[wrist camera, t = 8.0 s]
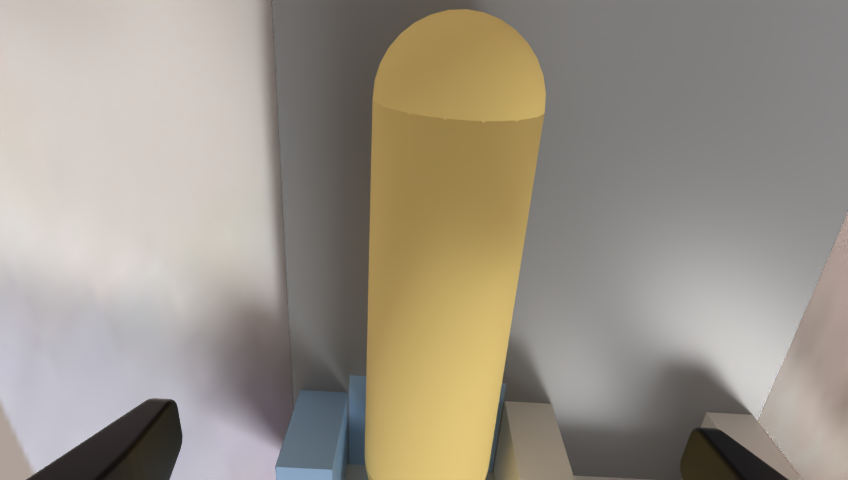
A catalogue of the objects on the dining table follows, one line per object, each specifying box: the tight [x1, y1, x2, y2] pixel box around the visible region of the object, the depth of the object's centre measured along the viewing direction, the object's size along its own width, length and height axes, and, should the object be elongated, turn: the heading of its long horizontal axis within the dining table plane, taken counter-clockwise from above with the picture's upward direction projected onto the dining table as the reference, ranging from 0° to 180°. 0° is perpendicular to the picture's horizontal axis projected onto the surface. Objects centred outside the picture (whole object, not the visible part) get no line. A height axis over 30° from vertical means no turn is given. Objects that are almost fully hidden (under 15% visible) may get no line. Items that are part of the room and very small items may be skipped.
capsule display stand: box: [272, 0, 848, 480], centre depth 14 cm, size 15×17×4 cm
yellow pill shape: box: [365, 9, 546, 480], centre depth 13 cm, size 14×4×4 cm, turn 176°
